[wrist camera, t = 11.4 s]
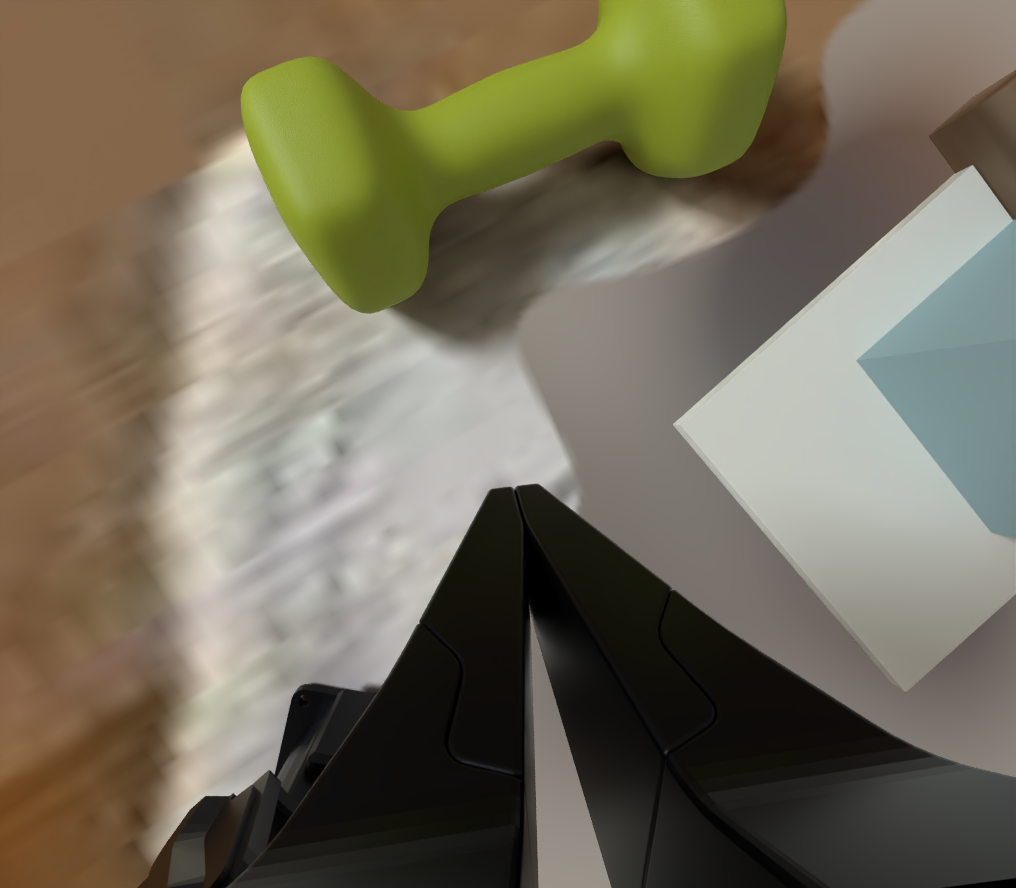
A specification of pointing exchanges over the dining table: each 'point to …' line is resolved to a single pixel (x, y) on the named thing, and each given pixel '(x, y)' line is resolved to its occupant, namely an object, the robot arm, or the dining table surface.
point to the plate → (864, 452)
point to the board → (985, 139)
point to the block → (962, 378)
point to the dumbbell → (503, 131)
